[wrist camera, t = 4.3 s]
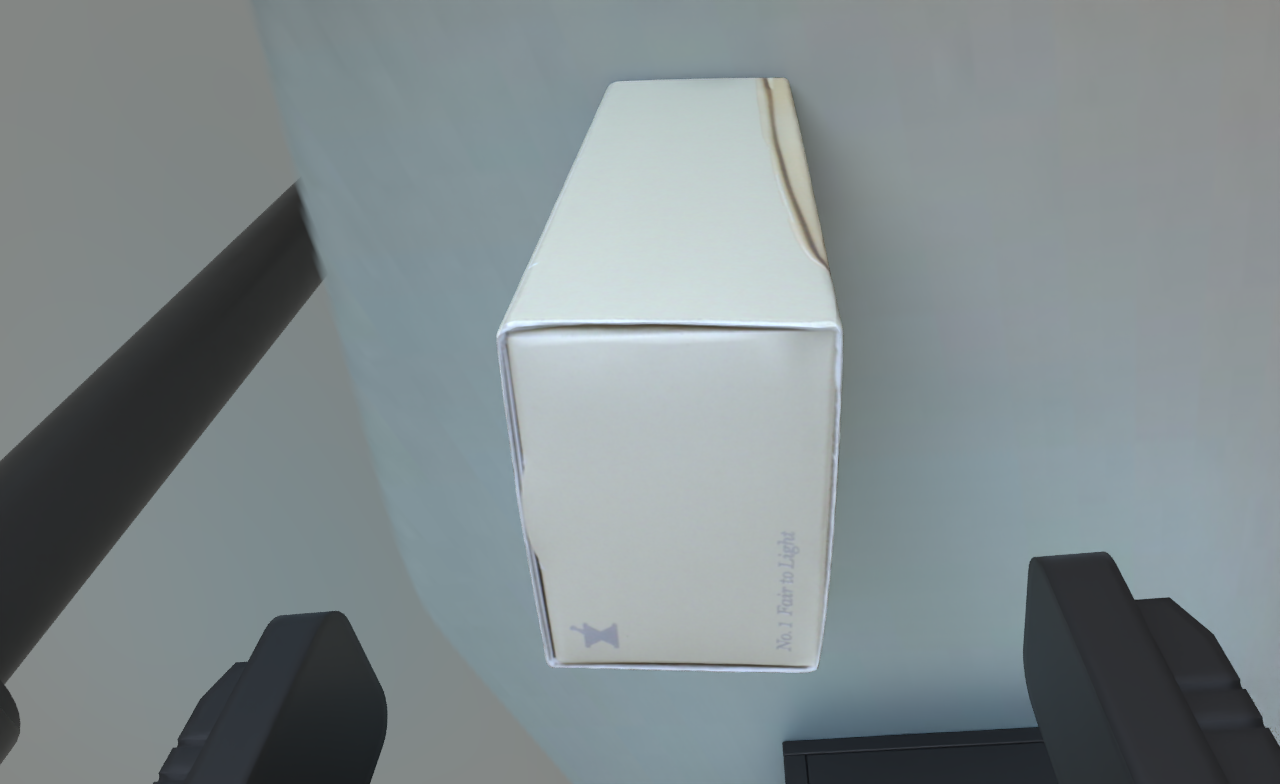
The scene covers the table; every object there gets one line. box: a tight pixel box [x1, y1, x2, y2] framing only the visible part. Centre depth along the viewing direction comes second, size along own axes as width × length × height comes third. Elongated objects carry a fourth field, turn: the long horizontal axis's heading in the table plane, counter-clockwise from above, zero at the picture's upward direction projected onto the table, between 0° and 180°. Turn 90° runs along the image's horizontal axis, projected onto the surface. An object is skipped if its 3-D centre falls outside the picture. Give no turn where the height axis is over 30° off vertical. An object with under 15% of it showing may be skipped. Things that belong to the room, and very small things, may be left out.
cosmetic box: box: [497, 78, 844, 673], centre depth 18 cm, size 6×4×12 cm
